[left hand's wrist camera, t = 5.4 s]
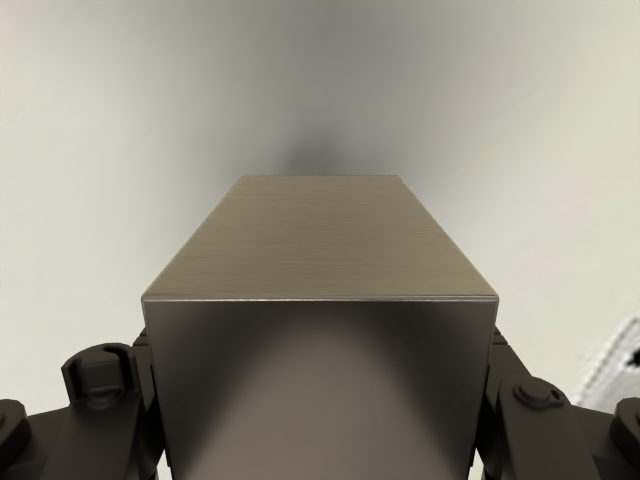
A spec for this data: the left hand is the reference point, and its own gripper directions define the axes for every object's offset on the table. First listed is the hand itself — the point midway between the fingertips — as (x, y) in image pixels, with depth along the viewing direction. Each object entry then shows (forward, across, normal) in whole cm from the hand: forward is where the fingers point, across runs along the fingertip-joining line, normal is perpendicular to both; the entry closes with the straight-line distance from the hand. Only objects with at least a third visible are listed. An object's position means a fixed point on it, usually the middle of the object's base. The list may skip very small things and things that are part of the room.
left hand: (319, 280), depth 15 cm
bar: (0, 0, -8) cm, 8 cm away
